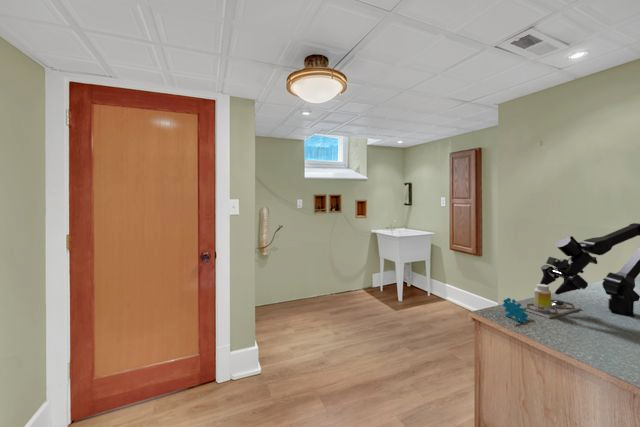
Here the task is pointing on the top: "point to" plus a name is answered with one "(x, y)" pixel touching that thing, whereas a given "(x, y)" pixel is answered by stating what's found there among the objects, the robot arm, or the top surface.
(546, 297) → the supplement bottle
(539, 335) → the top surface
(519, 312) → the gear
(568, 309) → the flange plate
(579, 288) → the robot arm
